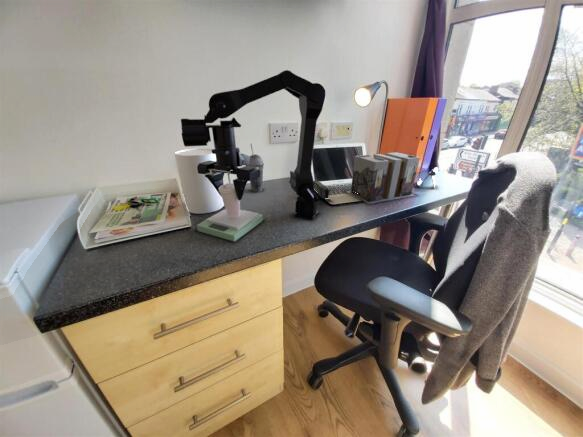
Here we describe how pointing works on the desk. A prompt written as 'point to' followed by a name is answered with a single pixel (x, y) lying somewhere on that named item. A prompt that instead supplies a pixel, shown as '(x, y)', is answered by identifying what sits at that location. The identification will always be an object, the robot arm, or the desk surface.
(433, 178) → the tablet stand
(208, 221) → the scale
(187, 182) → the canister
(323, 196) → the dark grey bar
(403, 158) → the bookend
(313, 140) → the robot arm
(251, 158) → the beverage cup
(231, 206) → the smoothie
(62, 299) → the desk surface
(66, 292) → the desk surface
